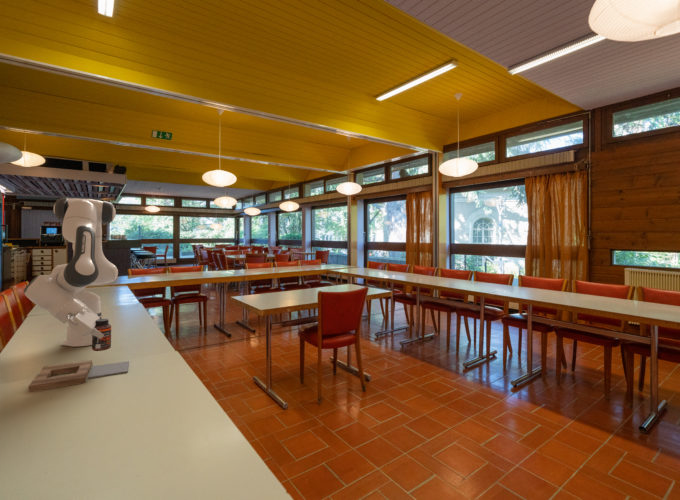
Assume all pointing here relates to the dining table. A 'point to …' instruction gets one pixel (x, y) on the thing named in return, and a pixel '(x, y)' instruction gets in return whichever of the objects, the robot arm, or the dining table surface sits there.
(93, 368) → the slate-grey rubber mat
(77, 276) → the robot arm
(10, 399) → the dining table surface
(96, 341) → the supplement bottle
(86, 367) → the walnut dock board
